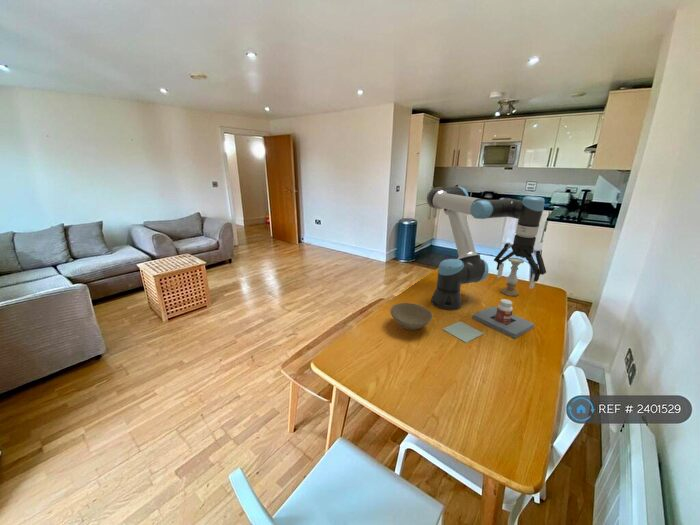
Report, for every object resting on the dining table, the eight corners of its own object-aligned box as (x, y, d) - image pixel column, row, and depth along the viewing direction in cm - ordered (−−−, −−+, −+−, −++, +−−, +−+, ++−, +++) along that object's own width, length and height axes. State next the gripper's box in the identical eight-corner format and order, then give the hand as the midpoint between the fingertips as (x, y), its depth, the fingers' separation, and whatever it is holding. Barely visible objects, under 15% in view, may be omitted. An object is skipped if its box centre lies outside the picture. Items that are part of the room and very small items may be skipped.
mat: (442, 329, 124) (442, 328, 123) (459, 321, 130) (459, 321, 130) (465, 343, 114) (466, 342, 114) (483, 334, 120) (483, 333, 120)
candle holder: (502, 288, 165) (508, 256, 159) (519, 292, 160) (526, 259, 154) (499, 293, 159) (506, 260, 152) (517, 297, 154) (524, 263, 147)
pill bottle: (503, 327, 125) (507, 305, 122) (491, 320, 131) (495, 299, 127) (512, 324, 127) (517, 302, 124) (501, 318, 133) (505, 297, 129)
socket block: (472, 318, 133) (472, 314, 132) (491, 309, 141) (492, 305, 140) (514, 338, 117) (515, 334, 116) (533, 327, 125) (534, 323, 124)
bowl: (438, 327, 126) (440, 311, 123) (417, 345, 113) (419, 327, 110) (403, 313, 138) (404, 298, 135) (381, 328, 125) (381, 312, 122)
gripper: (491, 230, 122) (482, 275, 129) (557, 243, 103) (542, 295, 110) (499, 228, 126) (491, 271, 133) (564, 240, 107) (550, 290, 114)
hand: (514, 282), depth 122 cm, fingers open, 13 cm apart
